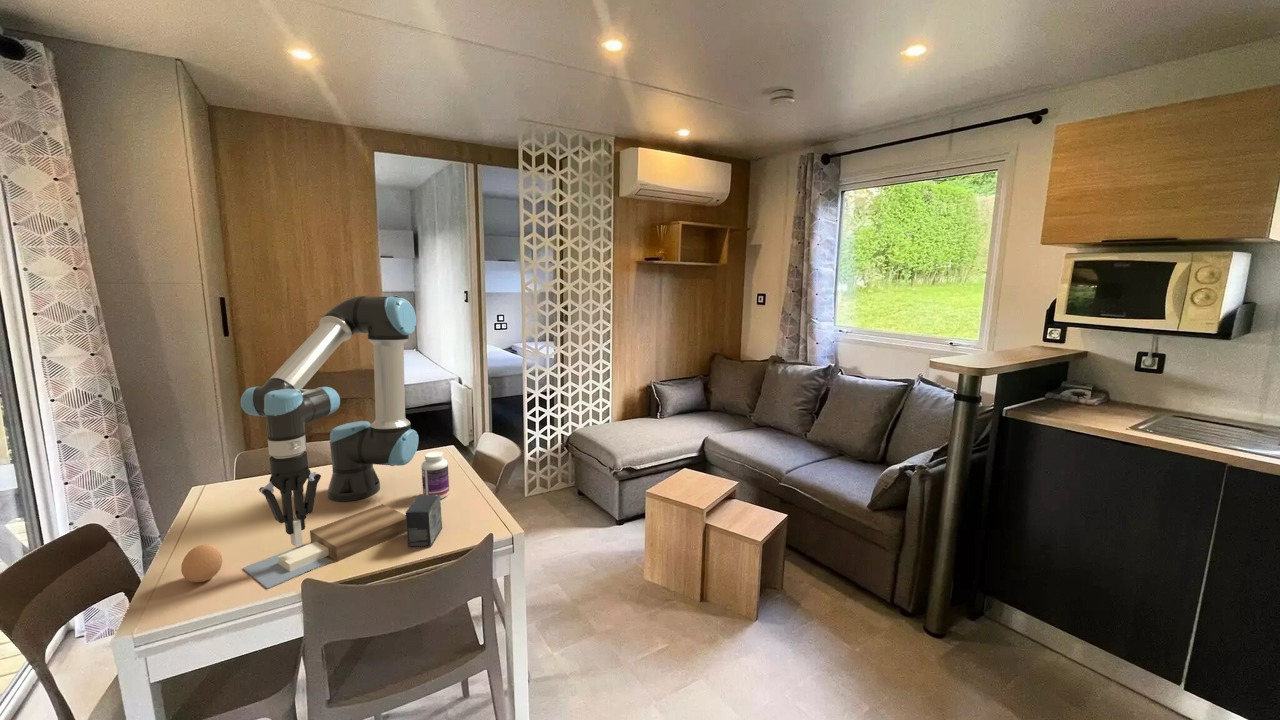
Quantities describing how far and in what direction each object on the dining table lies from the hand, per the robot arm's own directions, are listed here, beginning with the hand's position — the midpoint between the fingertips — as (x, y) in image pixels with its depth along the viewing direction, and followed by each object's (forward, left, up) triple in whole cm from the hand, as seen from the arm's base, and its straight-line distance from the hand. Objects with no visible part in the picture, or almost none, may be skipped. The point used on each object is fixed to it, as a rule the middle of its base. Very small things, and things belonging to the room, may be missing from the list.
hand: (296, 543), depth 128 cm
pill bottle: (-7, +44, -6) cm, 45 cm away
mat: (-1, -2, -5) cm, 6 cm away
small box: (+14, +26, -6) cm, 30 cm away
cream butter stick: (0, +1, -5) cm, 5 cm away
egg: (-10, -16, -6) cm, 20 cm away
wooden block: (0, +16, -5) cm, 17 cm away
